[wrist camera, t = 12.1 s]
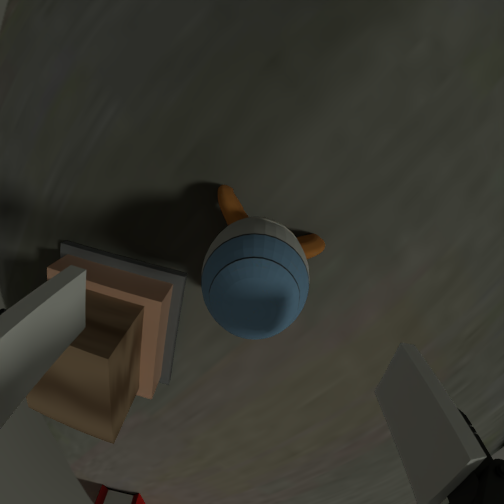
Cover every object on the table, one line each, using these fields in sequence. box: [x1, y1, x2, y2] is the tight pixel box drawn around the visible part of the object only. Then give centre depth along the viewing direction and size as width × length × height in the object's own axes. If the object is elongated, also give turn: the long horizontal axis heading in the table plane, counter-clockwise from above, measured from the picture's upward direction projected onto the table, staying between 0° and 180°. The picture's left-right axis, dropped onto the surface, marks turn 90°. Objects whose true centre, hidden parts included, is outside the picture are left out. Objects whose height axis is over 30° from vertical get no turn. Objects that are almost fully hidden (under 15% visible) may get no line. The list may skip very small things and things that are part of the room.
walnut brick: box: [26, 289, 144, 444], centre depth 24 cm, size 10×9×8 cm
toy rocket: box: [201, 185, 325, 339], centre depth 24 cm, size 10×11×15 cm
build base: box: [47, 240, 187, 399], centre depth 30 cm, size 14×14×5 cm
